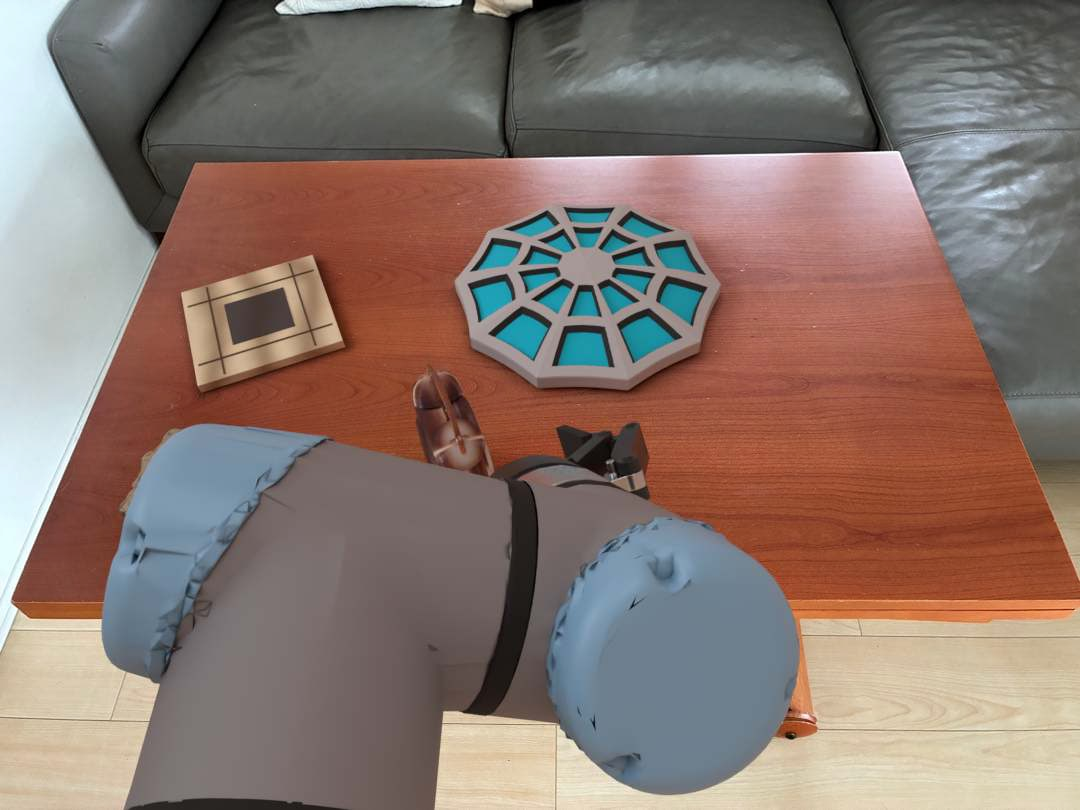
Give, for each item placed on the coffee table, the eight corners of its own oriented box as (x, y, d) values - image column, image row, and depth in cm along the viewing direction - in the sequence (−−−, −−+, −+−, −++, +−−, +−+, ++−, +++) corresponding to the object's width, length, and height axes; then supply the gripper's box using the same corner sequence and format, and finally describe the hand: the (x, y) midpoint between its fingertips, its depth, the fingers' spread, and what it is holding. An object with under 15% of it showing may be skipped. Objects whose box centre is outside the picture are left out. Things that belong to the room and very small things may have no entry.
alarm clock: (504, 524, 72) (490, 428, 60) (456, 542, 71) (431, 448, 59) (467, 437, 78) (448, 335, 66) (422, 453, 77) (394, 352, 65)
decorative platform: (438, 389, 82) (431, 358, 78) (471, 216, 100) (466, 184, 96) (730, 396, 80) (738, 364, 76) (709, 218, 98) (714, 185, 94)
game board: (201, 393, 83) (196, 385, 82) (184, 299, 92) (180, 291, 91) (345, 347, 86) (342, 339, 85) (315, 261, 96) (312, 253, 95)
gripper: (320, 725, 34) (331, 583, 54) (804, 523, 39) (647, 464, 59) (260, 569, 33) (295, 485, 53) (766, 382, 38) (619, 371, 58)
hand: (480, 473), depth 56 cm, fingers open, 13 cm apart
